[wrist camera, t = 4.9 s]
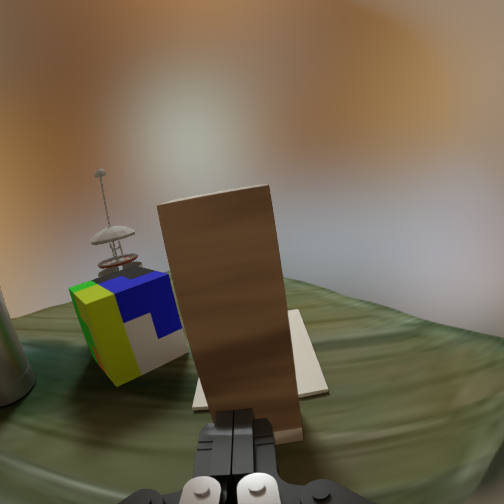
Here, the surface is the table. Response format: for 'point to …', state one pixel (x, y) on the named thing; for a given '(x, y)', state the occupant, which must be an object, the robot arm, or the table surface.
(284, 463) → the table surface
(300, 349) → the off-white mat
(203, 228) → the walnut block
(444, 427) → the table surface
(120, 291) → the puzzle toy
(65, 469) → the table surface
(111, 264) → the french press
